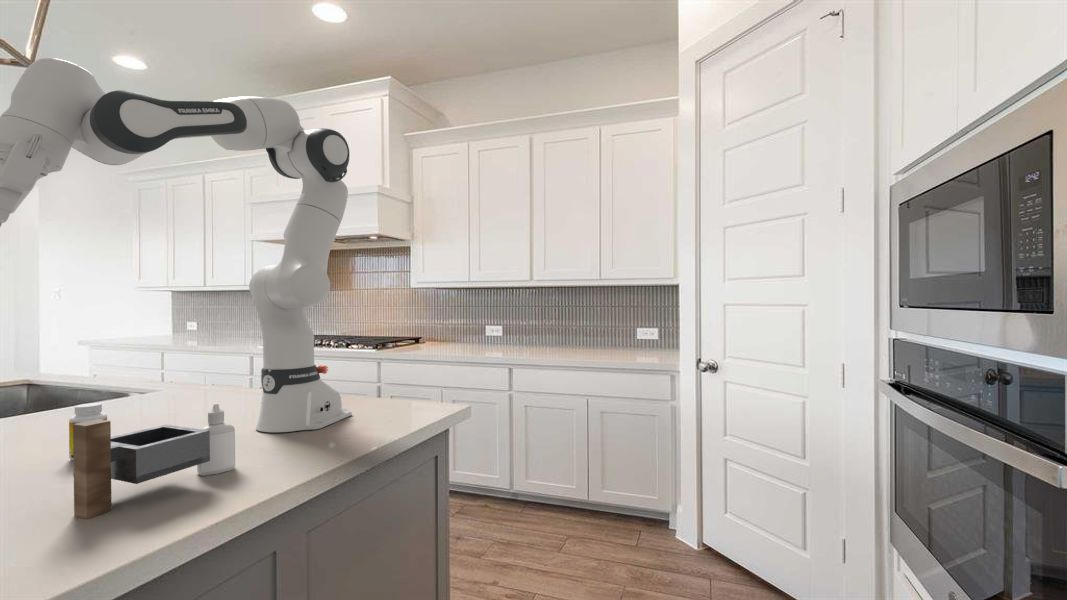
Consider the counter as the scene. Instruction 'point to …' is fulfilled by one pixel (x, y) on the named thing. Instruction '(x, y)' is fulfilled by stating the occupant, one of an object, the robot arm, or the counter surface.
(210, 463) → the eye dropper bottle
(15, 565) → the counter surface
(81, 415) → the supplement bottle
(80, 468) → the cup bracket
